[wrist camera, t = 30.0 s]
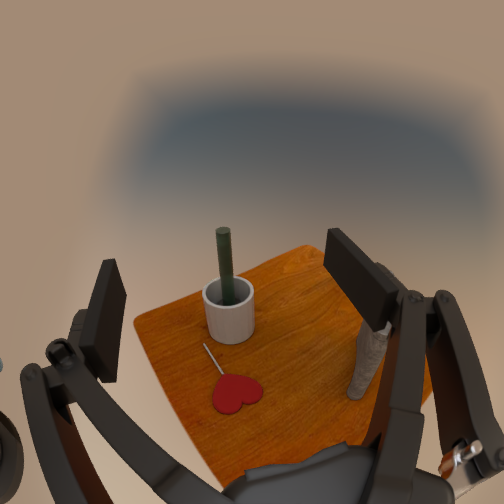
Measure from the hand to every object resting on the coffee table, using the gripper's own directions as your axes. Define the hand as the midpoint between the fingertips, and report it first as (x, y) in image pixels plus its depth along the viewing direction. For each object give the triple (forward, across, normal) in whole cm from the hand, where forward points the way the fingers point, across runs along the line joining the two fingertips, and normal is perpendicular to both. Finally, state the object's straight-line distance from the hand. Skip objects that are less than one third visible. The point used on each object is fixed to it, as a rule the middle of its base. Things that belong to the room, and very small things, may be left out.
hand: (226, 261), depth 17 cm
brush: (+24, +3, -30) cm, 39 cm away
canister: (+24, +3, -31) cm, 39 cm away
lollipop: (+13, -1, -31) cm, 34 cm away
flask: (+8, +22, -31) cm, 39 cm away
